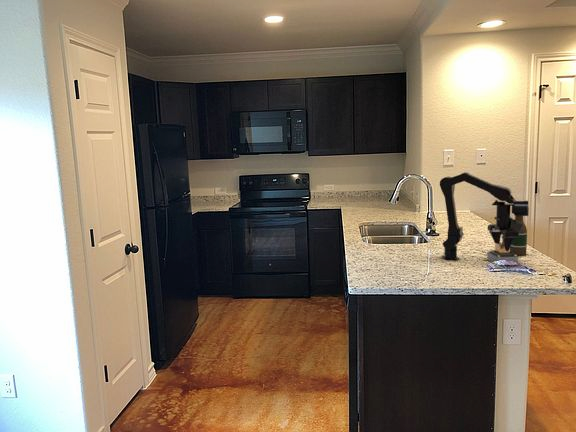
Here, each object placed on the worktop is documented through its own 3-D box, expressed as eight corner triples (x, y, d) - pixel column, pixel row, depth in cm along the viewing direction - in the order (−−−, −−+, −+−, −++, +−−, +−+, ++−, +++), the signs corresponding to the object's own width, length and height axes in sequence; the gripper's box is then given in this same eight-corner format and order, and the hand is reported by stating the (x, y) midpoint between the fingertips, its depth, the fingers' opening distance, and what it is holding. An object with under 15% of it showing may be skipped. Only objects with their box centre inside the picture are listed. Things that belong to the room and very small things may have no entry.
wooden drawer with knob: (494, 259, 219) (495, 240, 217) (504, 259, 219) (505, 239, 218) (499, 261, 214) (499, 242, 213) (509, 261, 214) (509, 241, 213)
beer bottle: (512, 251, 236) (514, 204, 233) (529, 254, 231) (530, 205, 227) (506, 254, 231) (507, 206, 227) (523, 257, 225) (525, 207, 222)
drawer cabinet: (487, 260, 222) (487, 249, 221) (505, 259, 222) (506, 249, 221) (497, 266, 211) (498, 255, 210) (517, 265, 211) (518, 254, 211)
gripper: (531, 217, 204) (530, 252, 207) (510, 211, 223) (509, 243, 225) (506, 218, 204) (505, 253, 206) (487, 212, 223) (486, 244, 225)
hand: (502, 248), depth 216 cm, fingers open, 9 cm apart
